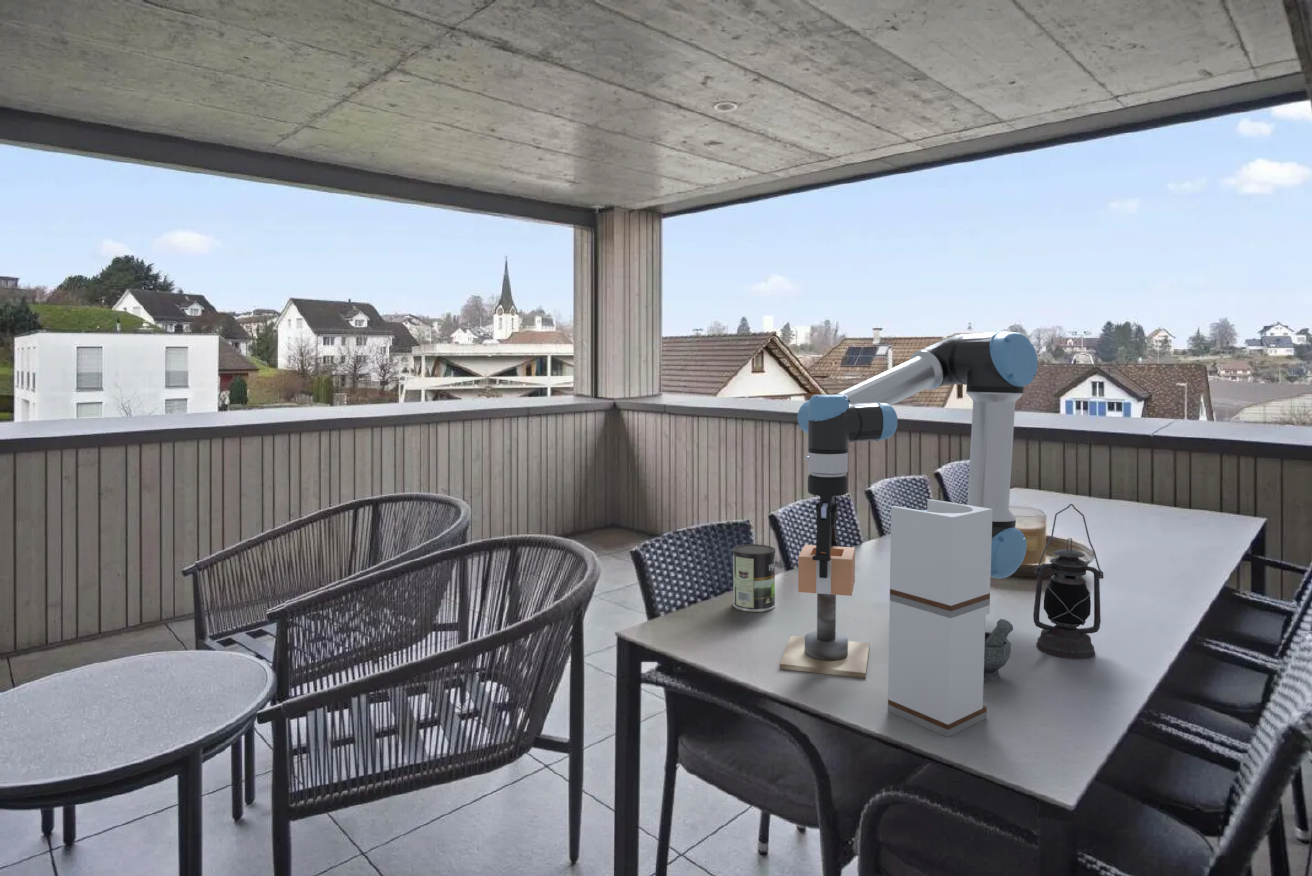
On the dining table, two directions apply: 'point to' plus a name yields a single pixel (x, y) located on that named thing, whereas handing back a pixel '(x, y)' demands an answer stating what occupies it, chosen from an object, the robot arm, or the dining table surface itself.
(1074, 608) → the lantern
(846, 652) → the post stand
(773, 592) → the coffee can
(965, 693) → the white square vase
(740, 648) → the dining table surface
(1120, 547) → the dining table surface
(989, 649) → the mortar and pestle
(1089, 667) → the dining table surface
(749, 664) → the dining table surface
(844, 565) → the square collar
